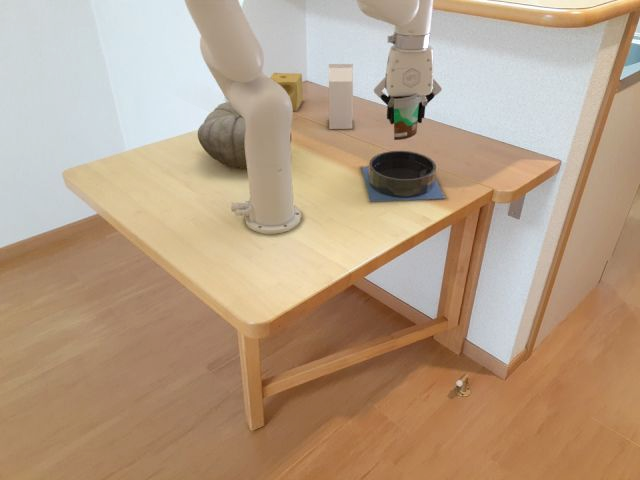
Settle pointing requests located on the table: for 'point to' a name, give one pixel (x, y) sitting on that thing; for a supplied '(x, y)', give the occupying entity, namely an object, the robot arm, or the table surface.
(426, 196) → the napkin
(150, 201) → the table surface
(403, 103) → the food container
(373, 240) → the table surface
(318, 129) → the table surface
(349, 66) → the milk carton
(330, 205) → the table surface
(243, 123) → the gourd
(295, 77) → the cheese
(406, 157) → the pan
